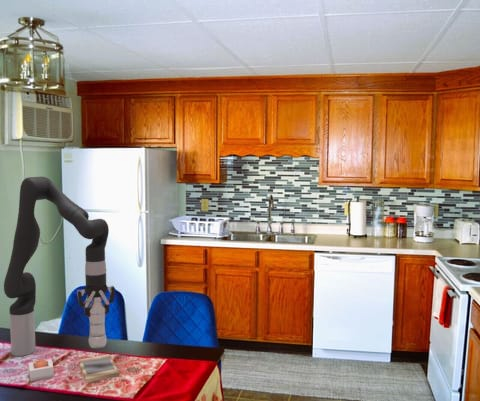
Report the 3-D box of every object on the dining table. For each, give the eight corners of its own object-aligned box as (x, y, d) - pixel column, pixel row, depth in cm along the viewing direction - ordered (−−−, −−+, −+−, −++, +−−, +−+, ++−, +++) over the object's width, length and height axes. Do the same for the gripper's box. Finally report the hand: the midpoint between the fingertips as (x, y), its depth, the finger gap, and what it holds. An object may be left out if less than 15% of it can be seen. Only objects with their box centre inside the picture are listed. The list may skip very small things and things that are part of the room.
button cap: (34, 371, 178) (34, 361, 178) (46, 369, 180) (46, 359, 179) (35, 375, 174) (35, 365, 174) (47, 373, 176) (46, 363, 176)
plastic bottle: (101, 351, 177) (100, 299, 175) (85, 349, 179) (84, 297, 177) (109, 344, 183) (109, 294, 182) (93, 343, 185) (92, 293, 183)
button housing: (29, 372, 179) (28, 362, 179) (51, 368, 183) (51, 358, 182) (30, 381, 172) (29, 371, 172) (53, 377, 175) (53, 366, 175)
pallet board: (78, 363, 187) (78, 359, 187) (109, 357, 192) (109, 353, 192) (86, 383, 171) (85, 378, 171) (119, 376, 176) (119, 371, 176)
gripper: (112, 267, 185) (113, 309, 186) (74, 271, 178) (75, 314, 180) (117, 272, 178) (118, 315, 180) (77, 276, 172) (78, 321, 173)
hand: (96, 314), depth 180 cm, fingers closed on plastic bottle, 6 cm apart
